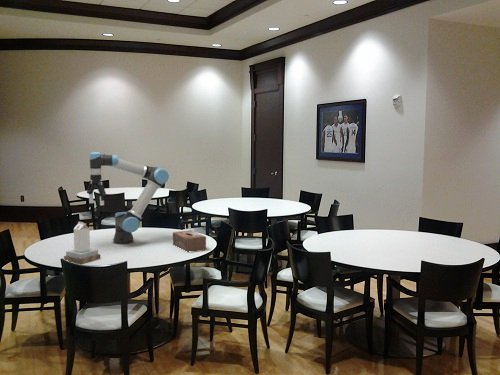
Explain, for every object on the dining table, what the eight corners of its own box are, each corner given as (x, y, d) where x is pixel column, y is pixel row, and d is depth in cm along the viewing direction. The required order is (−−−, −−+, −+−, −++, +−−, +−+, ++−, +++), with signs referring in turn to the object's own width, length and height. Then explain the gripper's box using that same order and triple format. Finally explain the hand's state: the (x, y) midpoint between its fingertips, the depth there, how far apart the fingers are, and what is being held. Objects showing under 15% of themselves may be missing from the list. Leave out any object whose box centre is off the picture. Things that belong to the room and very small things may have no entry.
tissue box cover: (206, 250, 333) (206, 236, 331) (187, 252, 325) (187, 238, 324) (190, 243, 354) (190, 230, 353) (173, 245, 346) (172, 232, 345)
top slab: (83, 251, 312) (83, 247, 312) (98, 254, 305) (97, 249, 305) (66, 256, 300) (66, 251, 299) (80, 259, 293) (80, 254, 293)
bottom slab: (83, 255, 314) (83, 250, 313) (100, 258, 306) (100, 254, 305) (64, 260, 300) (63, 256, 299) (80, 264, 292) (80, 259, 292)
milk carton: (84, 248, 307) (83, 220, 305) (90, 250, 303) (89, 222, 300) (74, 250, 302) (73, 222, 299) (80, 252, 297) (79, 223, 295)
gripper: (81, 173, 329) (82, 202, 332) (101, 175, 313) (101, 206, 316) (90, 173, 335) (91, 201, 337) (110, 175, 319) (111, 205, 322)
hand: (96, 204), depth 327 cm, fingers open, 13 cm apart
